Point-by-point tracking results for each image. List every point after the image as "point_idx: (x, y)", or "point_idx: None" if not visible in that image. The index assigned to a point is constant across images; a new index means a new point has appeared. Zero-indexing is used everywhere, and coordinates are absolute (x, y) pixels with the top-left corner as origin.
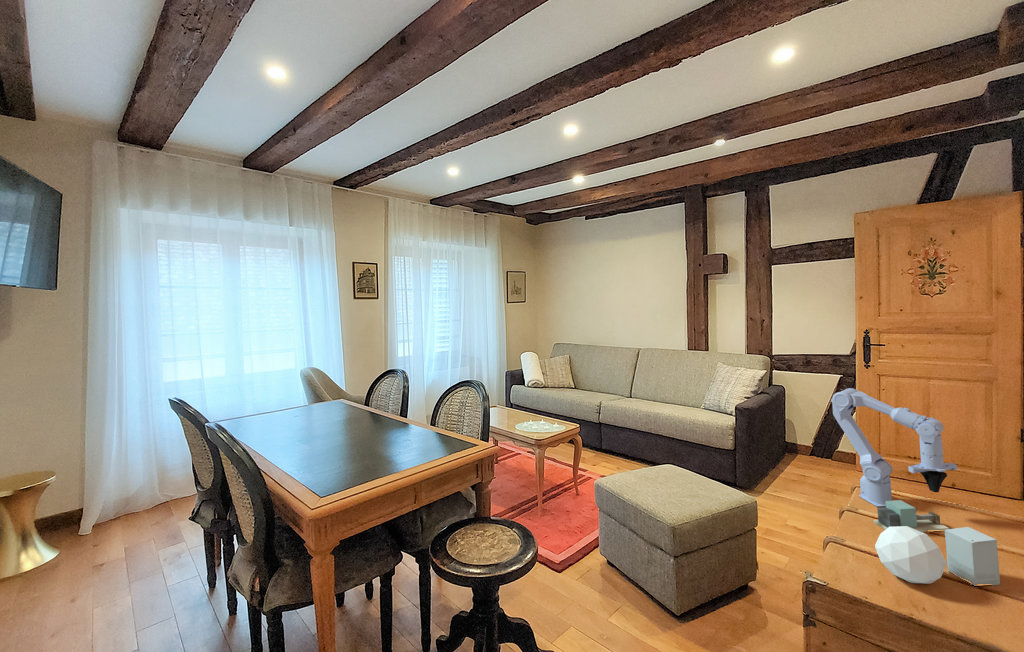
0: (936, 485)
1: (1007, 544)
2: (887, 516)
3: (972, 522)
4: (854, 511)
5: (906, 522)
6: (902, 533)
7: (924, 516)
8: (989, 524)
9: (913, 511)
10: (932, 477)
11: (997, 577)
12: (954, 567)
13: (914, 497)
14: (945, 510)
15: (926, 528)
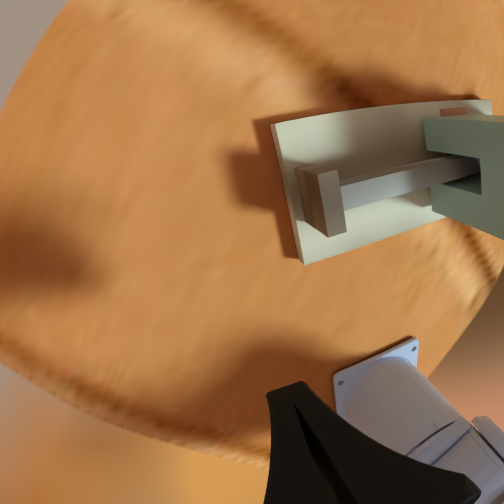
0: (326, 430)
1: (76, 23)
2: None
3: (92, 256)
4: (487, 280)
5: (474, 115)
6: None
7: (389, 174)
8: (31, 245)
9: (497, 120)
10: (456, 474)
11: None
12: None
13: (225, 450)
14: (158, 370)
15: (384, 116)
